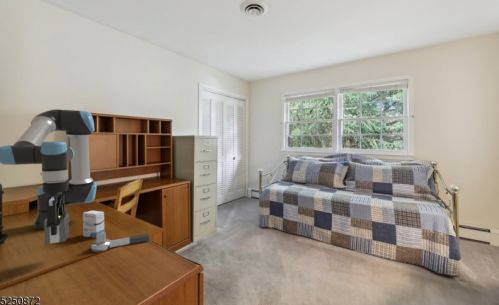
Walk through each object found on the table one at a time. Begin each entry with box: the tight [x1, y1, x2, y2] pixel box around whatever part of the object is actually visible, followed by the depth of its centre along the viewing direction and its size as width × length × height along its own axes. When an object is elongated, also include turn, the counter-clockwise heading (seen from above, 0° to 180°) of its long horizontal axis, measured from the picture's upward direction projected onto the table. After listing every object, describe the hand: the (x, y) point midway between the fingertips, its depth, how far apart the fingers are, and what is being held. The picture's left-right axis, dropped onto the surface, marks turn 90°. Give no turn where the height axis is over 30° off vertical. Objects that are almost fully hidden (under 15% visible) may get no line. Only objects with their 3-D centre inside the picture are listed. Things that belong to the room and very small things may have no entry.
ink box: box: [82, 210, 105, 239], centre depth 111 cm, size 8×5×12 cm, turn 74°
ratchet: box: [91, 231, 150, 253], centre depth 101 cm, size 22×7×6 cm, turn 118°
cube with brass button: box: [43, 213, 70, 245], centre depth 87 cm, size 6×6×9 cm
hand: (57, 238), depth 88 cm, fingers closed on cube with brass button, 6 cm apart
